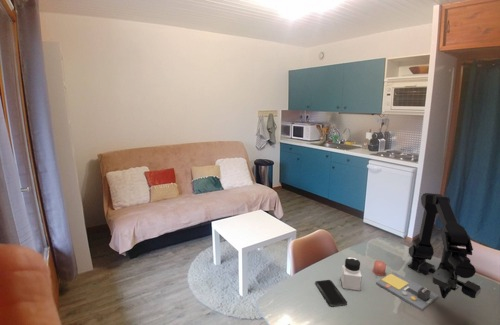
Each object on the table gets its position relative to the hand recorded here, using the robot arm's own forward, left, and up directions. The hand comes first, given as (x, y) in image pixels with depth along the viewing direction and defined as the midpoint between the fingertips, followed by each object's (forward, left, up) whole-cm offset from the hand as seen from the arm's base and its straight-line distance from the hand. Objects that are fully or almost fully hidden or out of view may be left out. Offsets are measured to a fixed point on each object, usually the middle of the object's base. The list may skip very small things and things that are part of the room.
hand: (443, 297), depth 103 cm
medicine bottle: (+17, -29, -6) cm, 34 cm away
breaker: (0, -7, -4) cm, 8 cm away
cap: (-2, -27, -6) cm, 28 cm away
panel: (0, -13, -6) cm, 14 cm away
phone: (+29, -30, -6) cm, 42 cm away
